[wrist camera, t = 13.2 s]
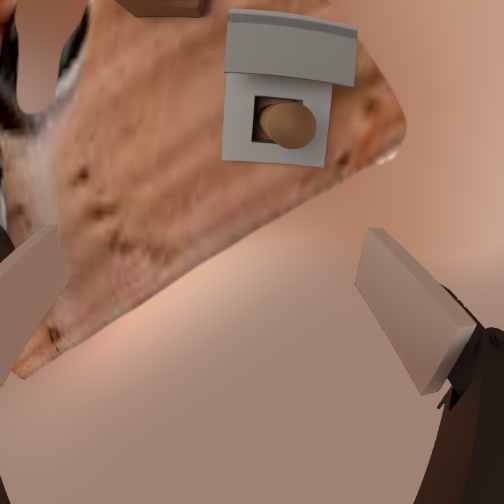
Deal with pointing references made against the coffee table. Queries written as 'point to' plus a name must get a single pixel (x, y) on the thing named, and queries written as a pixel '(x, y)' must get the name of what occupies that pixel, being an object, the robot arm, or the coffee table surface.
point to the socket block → (283, 78)
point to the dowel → (288, 124)
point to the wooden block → (164, 7)
